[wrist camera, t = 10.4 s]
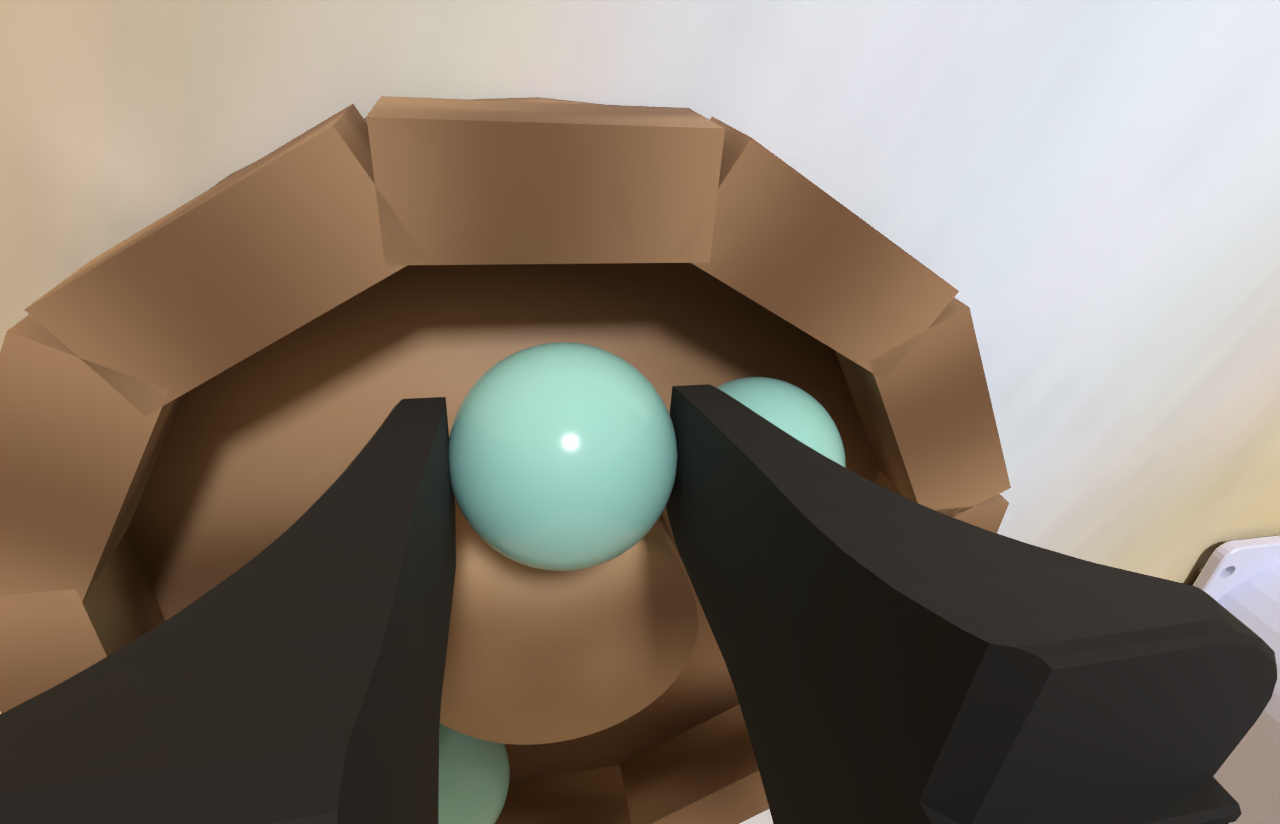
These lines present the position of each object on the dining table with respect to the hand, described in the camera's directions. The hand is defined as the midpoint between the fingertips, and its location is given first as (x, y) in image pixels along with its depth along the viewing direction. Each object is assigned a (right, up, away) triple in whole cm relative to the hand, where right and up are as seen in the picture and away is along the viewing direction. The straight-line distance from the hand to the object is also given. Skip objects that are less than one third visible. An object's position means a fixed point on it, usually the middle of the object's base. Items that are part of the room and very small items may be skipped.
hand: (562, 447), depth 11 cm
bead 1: (0, +1, +1) cm, 1 cm away
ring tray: (-1, -3, +6) cm, 7 cm away
